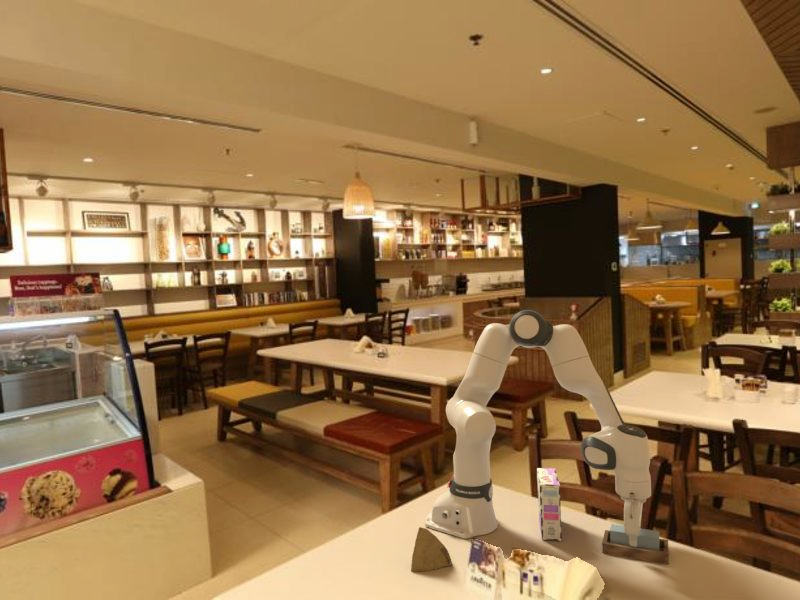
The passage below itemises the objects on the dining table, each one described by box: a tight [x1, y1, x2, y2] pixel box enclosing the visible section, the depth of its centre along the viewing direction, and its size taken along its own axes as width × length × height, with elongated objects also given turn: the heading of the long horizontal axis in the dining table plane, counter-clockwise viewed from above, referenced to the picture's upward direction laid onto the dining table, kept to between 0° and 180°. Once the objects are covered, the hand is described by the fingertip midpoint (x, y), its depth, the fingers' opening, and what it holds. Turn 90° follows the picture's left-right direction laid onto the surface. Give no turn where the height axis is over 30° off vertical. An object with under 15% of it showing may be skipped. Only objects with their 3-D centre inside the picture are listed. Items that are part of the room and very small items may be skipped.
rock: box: [410, 526, 453, 573], centre depth 139 cm, size 11×9×10 cm
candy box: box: [536, 467, 563, 542], centre depth 156 cm, size 14×6×16 cm, turn 168°
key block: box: [609, 523, 660, 551], centre depth 142 cm, size 4×12×5 cm, turn 63°
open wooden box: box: [601, 529, 670, 565], centre depth 142 cm, size 16×8×4 cm, turn 63°
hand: (634, 536), depth 141 cm, fingers open, 8 cm apart
